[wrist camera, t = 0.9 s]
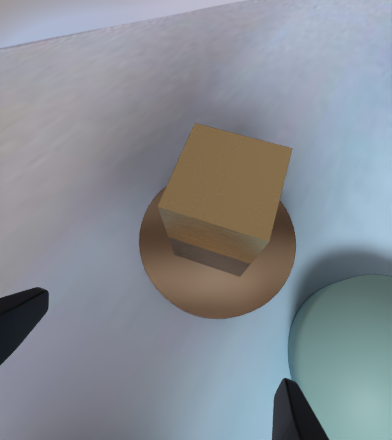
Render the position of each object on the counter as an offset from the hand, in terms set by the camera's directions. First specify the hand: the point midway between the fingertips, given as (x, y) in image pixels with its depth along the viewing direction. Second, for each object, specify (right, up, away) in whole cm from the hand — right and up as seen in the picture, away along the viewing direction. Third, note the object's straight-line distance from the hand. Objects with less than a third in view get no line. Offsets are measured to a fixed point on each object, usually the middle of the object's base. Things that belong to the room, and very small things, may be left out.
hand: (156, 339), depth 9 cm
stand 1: (+3, +2, +15) cm, 15 cm away
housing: (+3, +3, +12) cm, 13 cm away
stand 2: (+15, -7, +11) cm, 20 cm away
